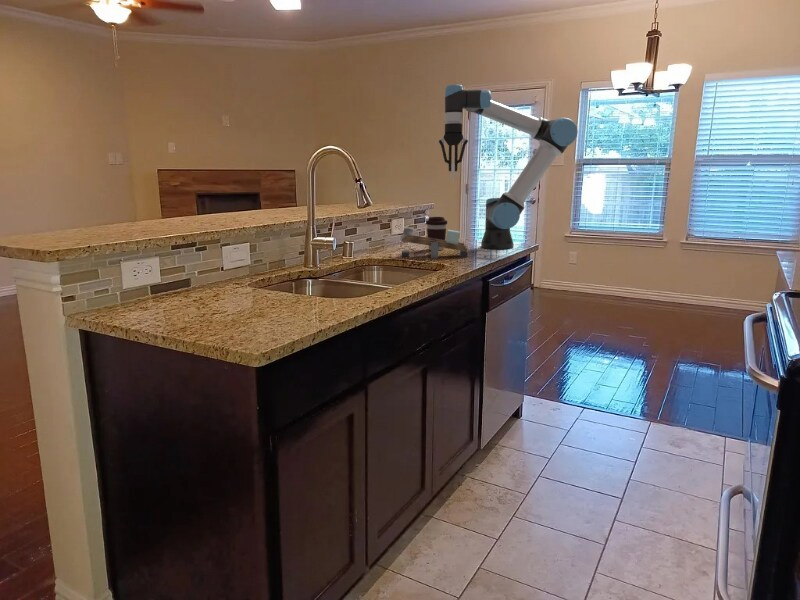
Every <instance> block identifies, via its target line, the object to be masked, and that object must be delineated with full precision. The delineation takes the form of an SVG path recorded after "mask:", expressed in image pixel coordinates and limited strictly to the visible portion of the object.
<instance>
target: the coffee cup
mask: <svg viewBox="0 0 800 600" xmlns="http://www.w3.org/2000/svg"><path fill="white" fill-rule="evenodd" d="M425 225H426V226H427V227H426V234H427V237H426V238H433V239H439V240H446V238H447V225H448V220H446V219H445V217H443V216H430V217H429V218H428V220H425ZM443 249H444V250H445V248H442V247H438V251H443ZM428 250H430V251H431V246H429V245H428Z"/></svg>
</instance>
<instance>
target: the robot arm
mask: <svg viewBox="0 0 800 600" xmlns="http://www.w3.org/2000/svg"><path fill="white" fill-rule="evenodd" d="M444 89H445V90H444V123H445V124H444V135H443V137H442V138H441V139H439V140H438V143H439V145H440V147H441V151H442V155H443V161H444V163H445V164H447V165H448V172H450V173H451V174H450V179H451V180H455V176H456V175H455V172H458V164H460V163H461V162H462V161H463V159H464V158H463V157H464V153H465V151H466V150H465V149H466V145H467V144H468V142H469V140H468V139H466V138H464V135H463V110H465V111H467V112H469V113H474V114H476V115H479V116H482V117H485V118H487V119H490V120H492V121H494V122H497V123H500V124H502V125H505V126H508V127H510V128H512V129H515V130H518V131H520V132H523V133H525V134H528V135H529V136H530V137H531V138H532V139H534V140H537V141H538V142H539V146H538V148H537V149H536V151H535V152H534V154H533V155H532V157H531V158H530V160H528V162H527V164H526V166H524V168H523V170H522V171H521V172H520V174H519V175H518V177H517V178H516V180H515V181H514V183H513V184H512V186H511V187H510V189H509V190H508V191H507V192H504V193H502V194H501V196H500V197H491V198H487V199H486V201H485V226H484V227H485V228H484V233H483V237H482V240H481V242H480V246H481V247H480V248H483V249H490V250H510V249H512V248H514V241H513V236H512V234H511V229H512V228H513V227H515V226H516V225H517V224H518V222H519V220H520V217H521V215H522V212H523V211H524V210H525V208H526V207H525V203H526V201H527V199H528V198H529V197H530V195H531V193H532V192H533V190H534V189H535V188H536V186H537V185H538V183H540V180H541V179H542V178H543V176H544V174H546V172H547V170H548V169H549V167H550V166H551V164H552V163H553V162H554V160H555V159H556V157H559V156H562V155H563V154H564V152H565V150H567V148H568V146H571V145H572V144H573V143H574V142H575V141H576V140H577V137H578V126H577V125H576V123H575V121H573V120H572V119H571V118H568V117H558V118H556V119H547V118H544V117H542V116H541V117H539V118H537V117H535V116H532V115H529V114H528V113H524V112H522V111H520V110H517V109H515V108H512V107H511V106H510V107H509V106H507V105H504V104H503V103H499V102H496V101H495V100H493V99H492V93H491V91H490V90H488V89H464V86H463V85H462V84H448V85H446V87H445V88H444ZM461 142H462V145H461V150H460V153H458V151H459V149H458V148H459V147H458V146H459V145H460V143H461ZM445 143H446V144H447V145H448V157H447V153H446V149H445ZM453 146H454V163H452V155H453V152H452V151H453V149H452V148H453ZM458 154H460V155H458ZM458 156H459V157H458Z"/></svg>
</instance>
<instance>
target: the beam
mask: <svg viewBox="0 0 800 600" xmlns="http://www.w3.org/2000/svg"><path fill="white" fill-rule="evenodd" d="M414 229H415V227H410V226H404V227H403V232H402V237H401V242H405V243H412V244H417V245H425V246H428V247H429V246H431V242H438V247H442V248H444V249H450V250H456V251H460V250H461V251H467V252H468V247H467V245H465V242H459V241H458V244H452V243H446V239H445V240H439V239H433V238H428V237H425V236H418V235H413V234H414Z"/></svg>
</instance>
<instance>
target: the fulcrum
mask: <svg viewBox="0 0 800 600" xmlns="http://www.w3.org/2000/svg"><path fill="white" fill-rule="evenodd" d="M401 258H410V250H409V249H403V250H402V251H401ZM459 258H468V250H467V251H461V250H459ZM430 259H439V250H438V242H431V250H430Z"/></svg>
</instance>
